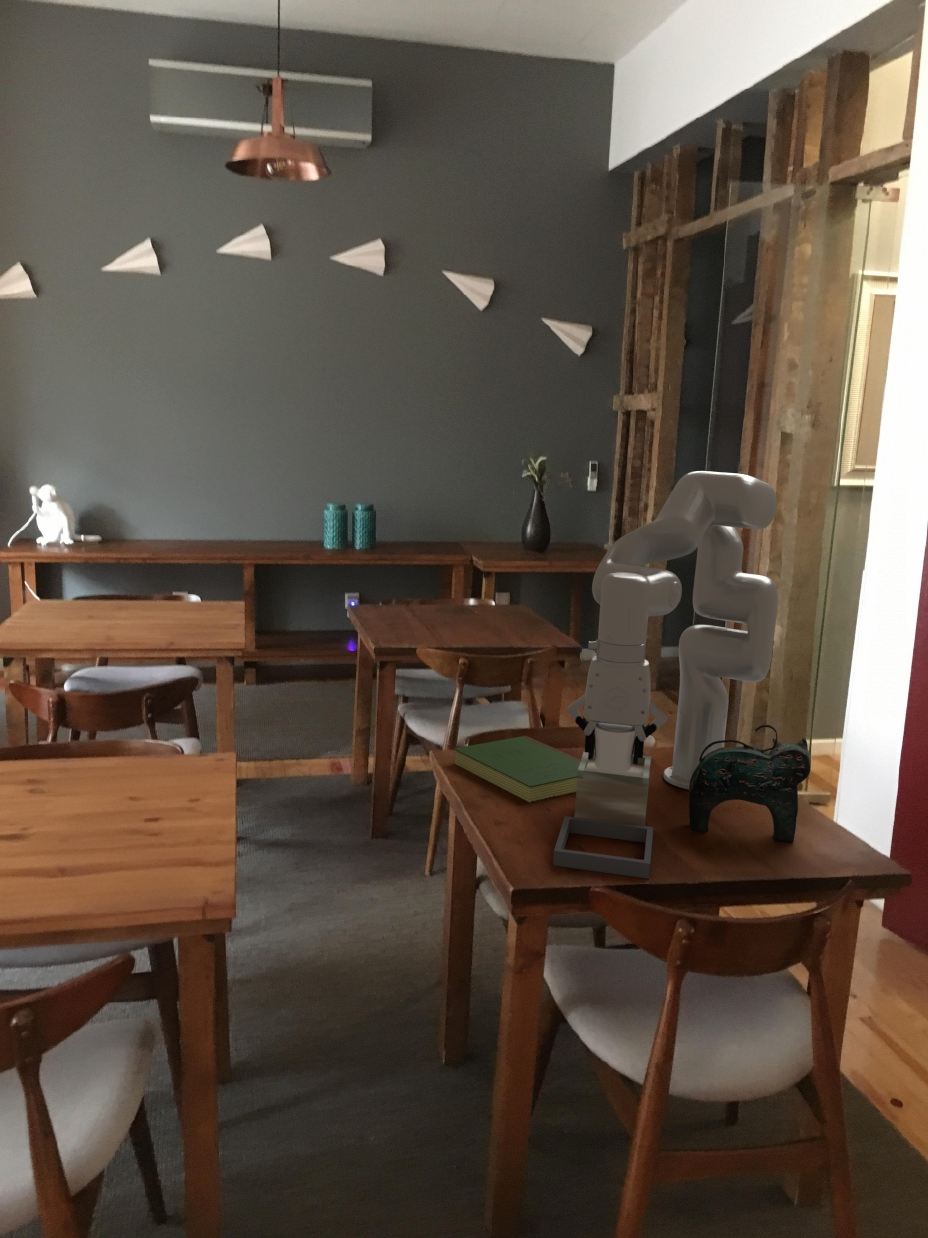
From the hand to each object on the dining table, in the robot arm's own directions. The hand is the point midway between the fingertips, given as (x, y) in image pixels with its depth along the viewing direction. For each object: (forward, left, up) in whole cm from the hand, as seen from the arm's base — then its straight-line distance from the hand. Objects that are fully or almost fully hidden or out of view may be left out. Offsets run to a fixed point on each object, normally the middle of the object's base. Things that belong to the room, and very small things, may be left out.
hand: (613, 758), depth 164 cm
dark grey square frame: (+1, 0, -16) cm, 16 cm away
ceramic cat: (-15, +23, -16) cm, 32 cm away
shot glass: (0, 0, -2) cm, 2 cm away
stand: (-14, 0, -16) cm, 22 cm away
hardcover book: (-33, -18, -17) cm, 41 cm away
